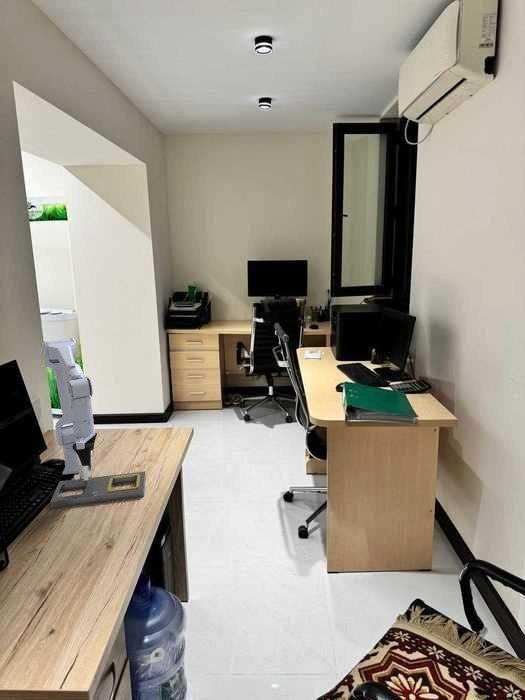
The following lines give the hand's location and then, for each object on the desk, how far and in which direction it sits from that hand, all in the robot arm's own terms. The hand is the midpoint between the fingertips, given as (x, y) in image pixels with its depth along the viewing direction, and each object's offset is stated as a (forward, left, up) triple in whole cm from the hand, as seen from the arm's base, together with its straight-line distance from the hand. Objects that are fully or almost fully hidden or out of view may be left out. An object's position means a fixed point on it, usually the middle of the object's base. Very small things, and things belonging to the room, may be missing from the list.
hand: (87, 461), depth 138 cm
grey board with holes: (0, +3, -10) cm, 11 cm away
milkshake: (0, -1, -6) cm, 6 cm away
